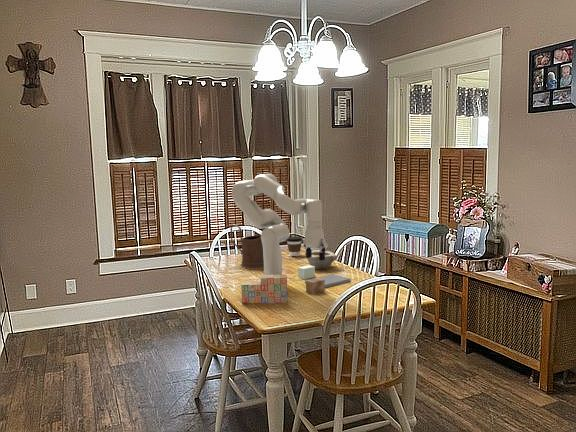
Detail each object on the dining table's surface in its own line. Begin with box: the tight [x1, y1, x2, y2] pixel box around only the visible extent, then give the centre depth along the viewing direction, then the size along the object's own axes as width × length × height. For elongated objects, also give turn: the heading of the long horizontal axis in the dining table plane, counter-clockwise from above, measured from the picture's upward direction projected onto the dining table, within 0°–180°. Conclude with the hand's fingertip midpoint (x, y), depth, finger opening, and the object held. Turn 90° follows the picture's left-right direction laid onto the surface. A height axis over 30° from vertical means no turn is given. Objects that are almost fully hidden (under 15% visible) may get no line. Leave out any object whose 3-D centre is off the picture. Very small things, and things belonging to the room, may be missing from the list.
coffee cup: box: [285, 236, 303, 257], centre depth 349 cm, size 11×11×12 cm
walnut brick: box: [305, 277, 326, 295], centre depth 261 cm, size 8×5×6 cm, turn 129°
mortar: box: [304, 250, 338, 271], centre depth 312 cm, size 17×17×9 cm
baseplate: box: [304, 273, 352, 289], centre depth 279 cm, size 20×14×2 cm
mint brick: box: [297, 264, 316, 280], centre depth 290 cm, size 8×5×6 cm, turn 129°
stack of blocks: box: [241, 274, 288, 304], centre depth 246 cm, size 21×6×12 cm, turn 90°
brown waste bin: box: [230, 224, 264, 269], centre depth 323 cm, size 18×24×25 cm
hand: (315, 258), depth 259 cm, fingers open, 9 cm apart
